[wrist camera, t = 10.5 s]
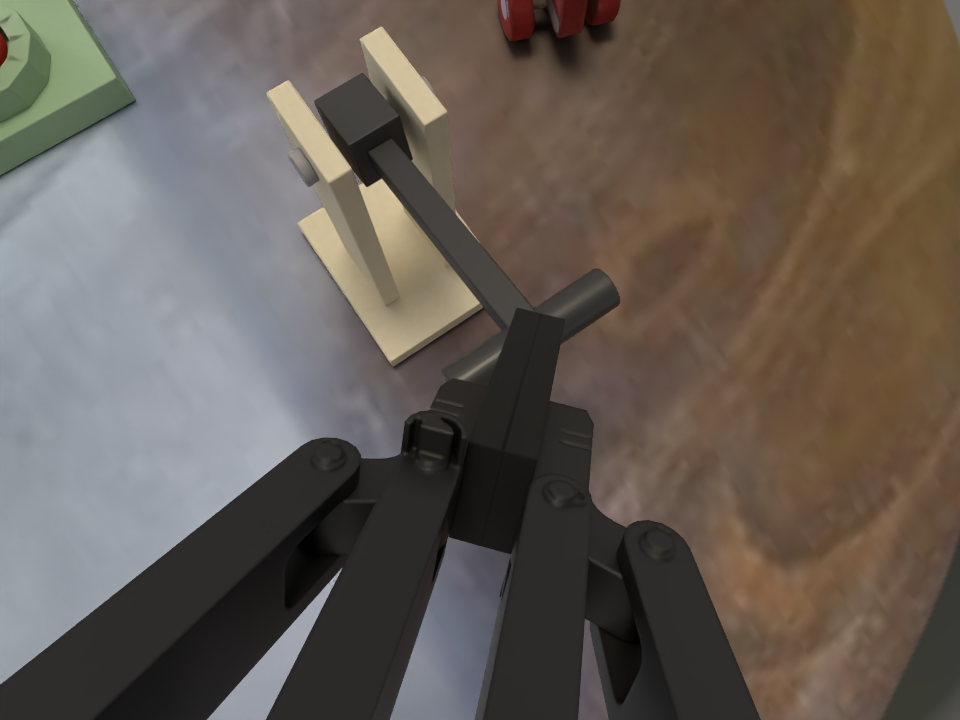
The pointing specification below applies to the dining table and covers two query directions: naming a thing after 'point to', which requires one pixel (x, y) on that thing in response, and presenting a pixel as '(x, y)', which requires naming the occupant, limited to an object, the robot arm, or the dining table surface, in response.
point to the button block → (51, 78)
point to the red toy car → (554, 15)
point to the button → (3, 50)
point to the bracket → (381, 211)
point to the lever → (447, 225)
